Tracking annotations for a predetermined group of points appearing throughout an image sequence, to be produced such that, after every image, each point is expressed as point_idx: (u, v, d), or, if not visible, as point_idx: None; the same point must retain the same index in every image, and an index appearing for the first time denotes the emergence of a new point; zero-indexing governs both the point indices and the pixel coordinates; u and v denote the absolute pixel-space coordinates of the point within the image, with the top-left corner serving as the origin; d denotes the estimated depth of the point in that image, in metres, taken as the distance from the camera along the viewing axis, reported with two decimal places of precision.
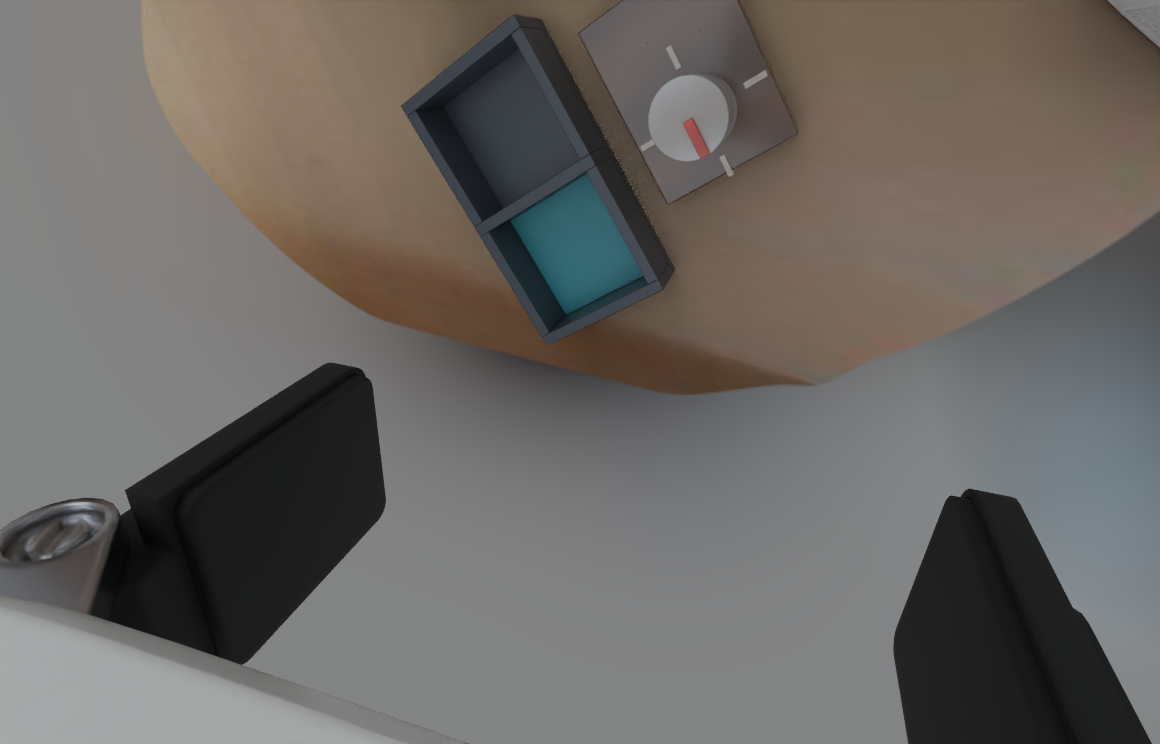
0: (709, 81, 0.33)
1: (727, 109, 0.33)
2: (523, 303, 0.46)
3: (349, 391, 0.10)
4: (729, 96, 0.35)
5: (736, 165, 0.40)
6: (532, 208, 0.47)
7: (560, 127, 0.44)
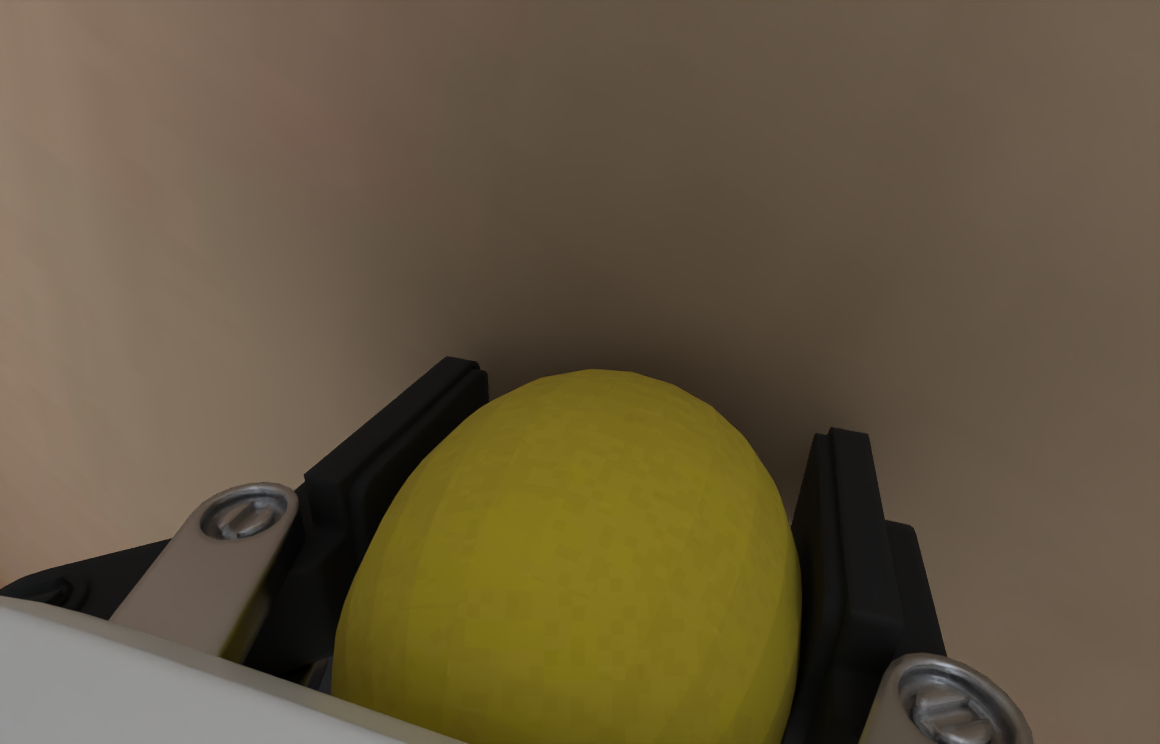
0: None
1: None
2: None
3: (472, 383, 0.11)
4: None
5: None
6: None
7: None
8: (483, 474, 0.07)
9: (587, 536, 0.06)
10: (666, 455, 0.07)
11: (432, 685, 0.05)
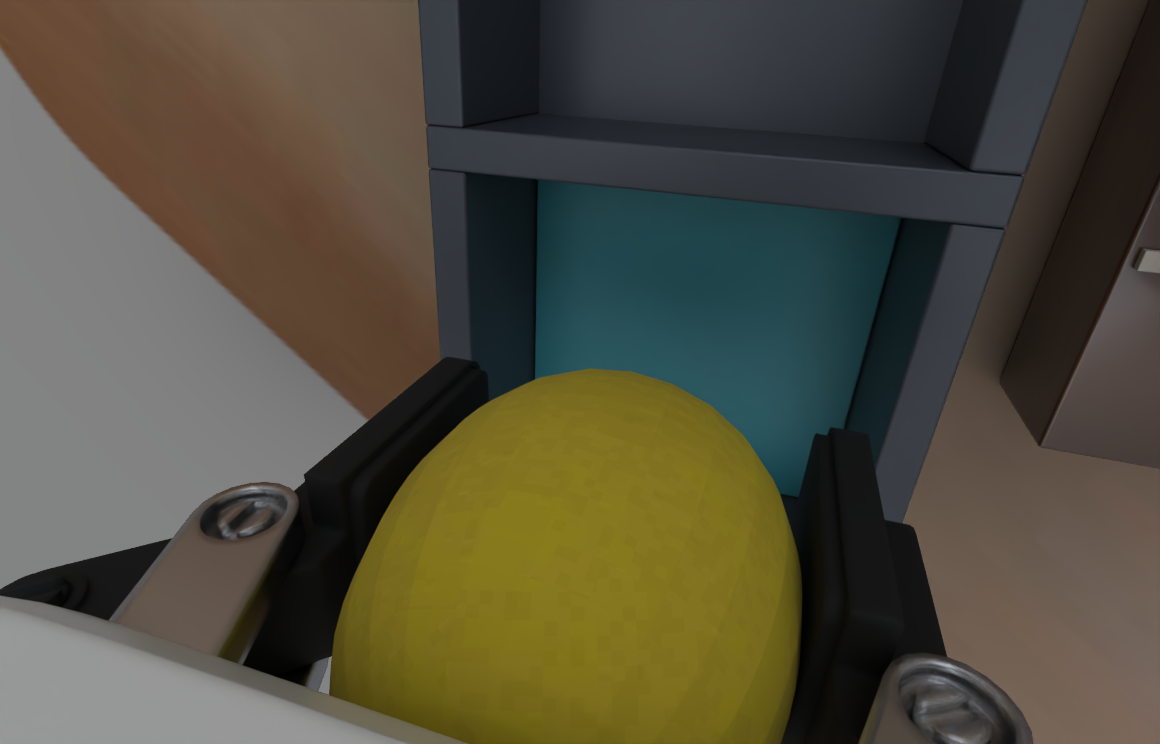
0: None
1: None
2: None
3: (472, 383, 0.11)
4: None
5: None
6: None
7: None
8: (482, 473, 0.07)
9: (586, 536, 0.06)
10: (665, 454, 0.07)
11: (430, 685, 0.05)
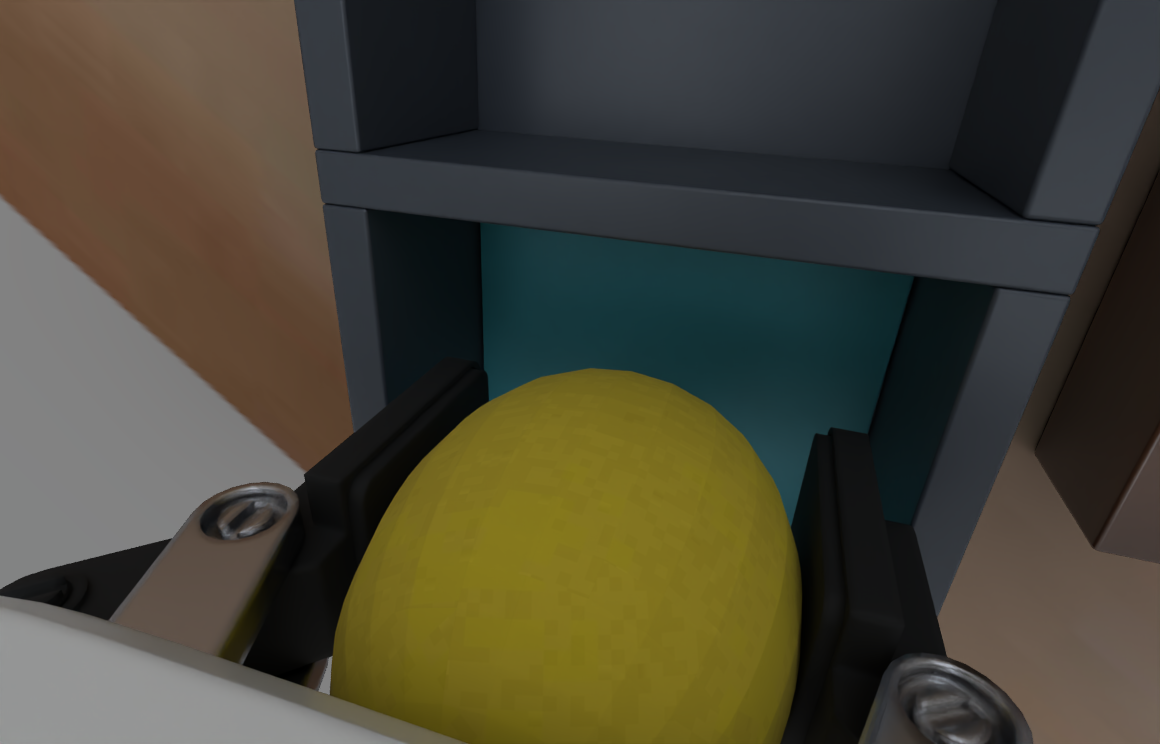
0: None
1: None
2: None
3: (472, 383, 0.11)
4: None
5: None
6: None
7: None
8: (482, 473, 0.07)
9: (586, 535, 0.06)
10: (665, 454, 0.07)
11: (432, 683, 0.05)
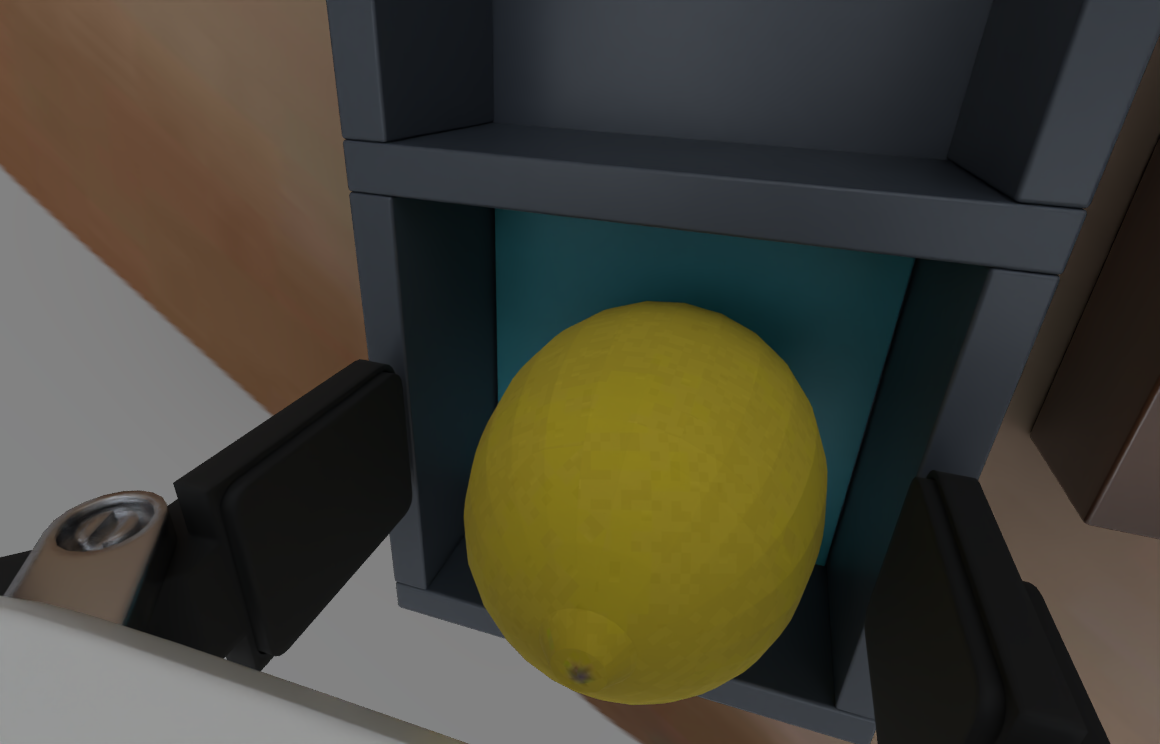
0: None
1: None
2: None
3: (381, 387, 0.10)
4: None
5: None
6: None
7: None
8: (588, 362, 0.09)
9: (675, 399, 0.08)
10: (726, 352, 0.09)
11: (567, 496, 0.07)
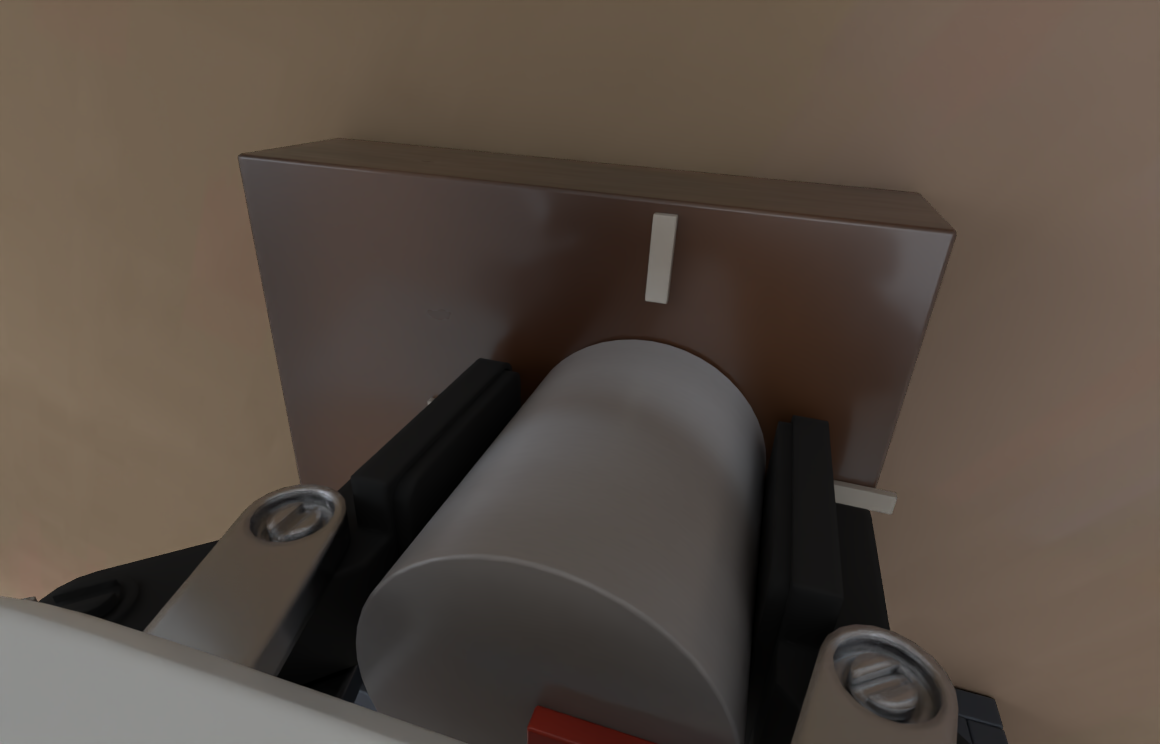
0: (431, 564, 0.06)
1: (600, 592, 0.06)
2: None
3: (506, 385, 0.11)
4: (610, 434, 0.08)
5: (875, 469, 0.10)
6: None
7: None
8: None
9: None
10: None
11: None
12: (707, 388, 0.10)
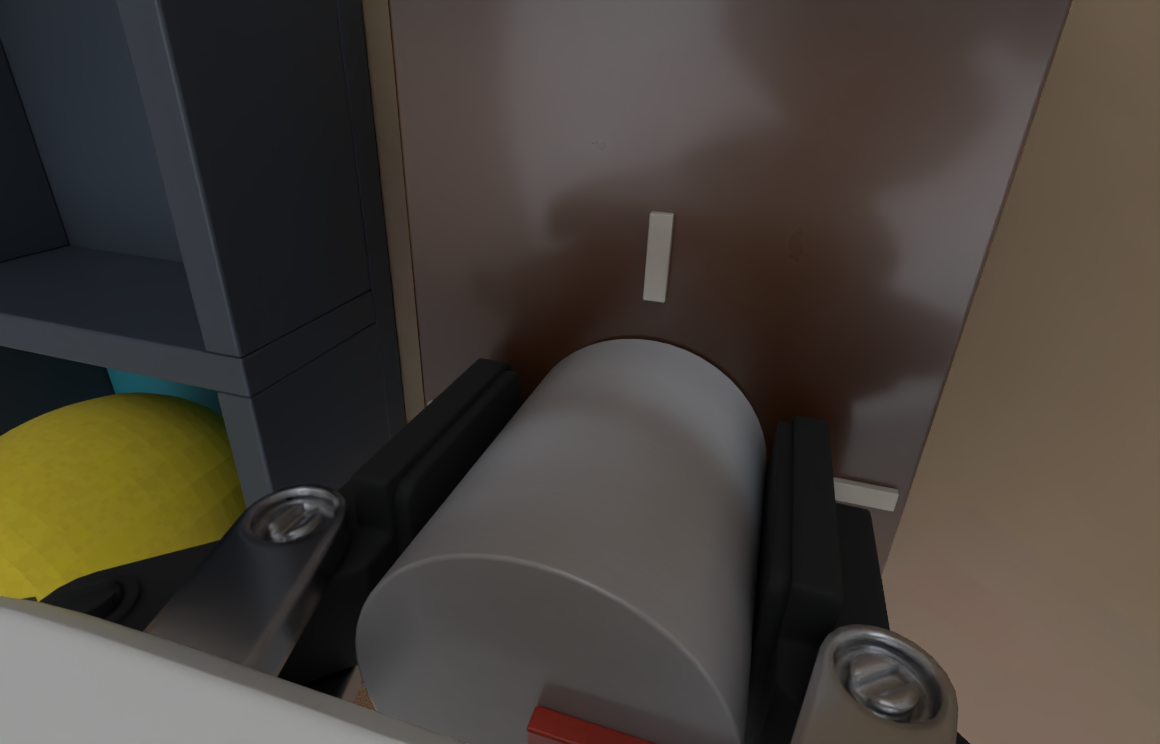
0: (431, 564, 0.06)
1: (600, 591, 0.06)
2: None
3: (507, 385, 0.11)
4: (611, 433, 0.08)
5: None
6: None
7: None
8: None
9: (1, 483, 0.12)
10: (89, 443, 0.13)
11: None
12: (708, 387, 0.10)
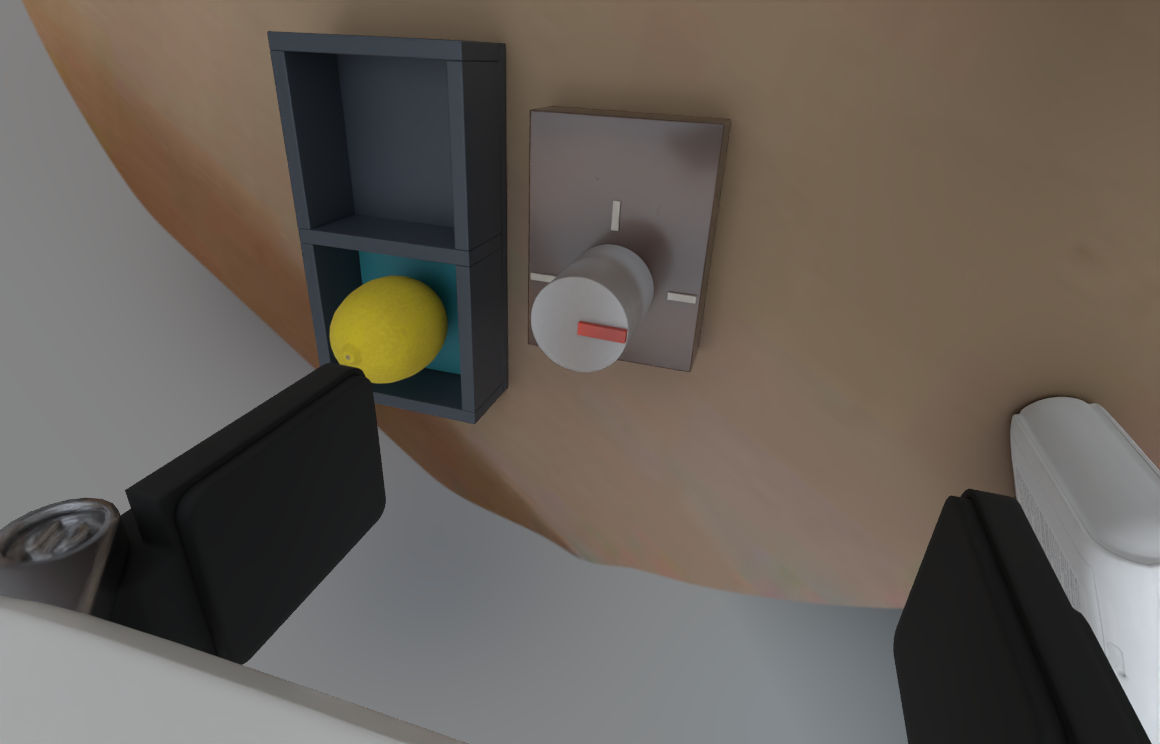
0: (557, 281, 0.26)
1: (596, 282, 0.26)
2: (318, 338, 0.37)
3: (349, 391, 0.10)
4: (599, 261, 0.28)
5: None
6: None
7: None
8: (360, 290, 0.32)
9: (376, 297, 0.32)
10: (399, 287, 0.33)
11: (347, 318, 0.31)
12: (631, 258, 0.30)
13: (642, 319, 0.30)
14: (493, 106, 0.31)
